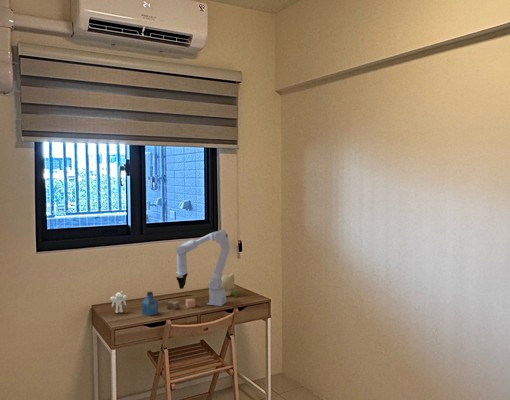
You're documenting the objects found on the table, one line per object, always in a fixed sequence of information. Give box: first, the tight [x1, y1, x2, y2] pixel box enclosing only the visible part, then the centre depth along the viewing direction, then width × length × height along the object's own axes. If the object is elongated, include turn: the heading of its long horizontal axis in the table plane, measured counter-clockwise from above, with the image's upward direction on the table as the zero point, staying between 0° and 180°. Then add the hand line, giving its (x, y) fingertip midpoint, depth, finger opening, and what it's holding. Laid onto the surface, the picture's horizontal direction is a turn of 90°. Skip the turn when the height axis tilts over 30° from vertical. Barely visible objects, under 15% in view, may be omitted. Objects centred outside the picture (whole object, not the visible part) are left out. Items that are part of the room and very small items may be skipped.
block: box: [185, 298, 196, 309], centre depth 276 cm, size 4×4×4 cm
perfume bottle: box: [141, 291, 159, 317], centre depth 263 cm, size 6×6×12 cm
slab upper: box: [166, 300, 180, 307], centre depth 272 cm, size 5×5×2 cm
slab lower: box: [166, 304, 180, 311], centre depth 273 cm, size 5×5×2 cm
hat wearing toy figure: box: [110, 290, 128, 314], centre depth 265 cm, size 9×4×12 cm, turn 118°
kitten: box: [220, 272, 239, 298], centre depth 299 cm, size 15×10×15 cm
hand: (182, 287), depth 283 cm, fingers open, 7 cm apart
